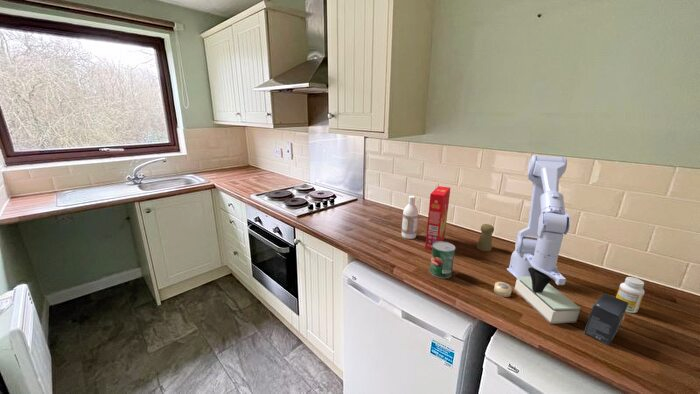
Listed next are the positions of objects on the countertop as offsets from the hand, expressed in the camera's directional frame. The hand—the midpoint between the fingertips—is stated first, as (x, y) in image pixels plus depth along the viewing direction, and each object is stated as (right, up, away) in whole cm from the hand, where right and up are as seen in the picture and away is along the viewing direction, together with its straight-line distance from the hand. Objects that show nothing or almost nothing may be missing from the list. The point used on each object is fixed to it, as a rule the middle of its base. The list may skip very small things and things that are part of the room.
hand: (537, 291), depth 87 cm
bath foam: (-29, +10, +49) cm, 58 cm away
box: (+12, -8, -9) cm, 17 cm away
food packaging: (-19, +8, +42) cm, 47 cm away
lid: (+3, 0, 0) cm, 3 cm away
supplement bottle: (+28, -5, +1) cm, 29 cm away
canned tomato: (-24, +1, +19) cm, 30 cm away
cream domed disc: (-7, -3, +8) cm, 10 cm away
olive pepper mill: (+2, +6, +38) cm, 39 cm away
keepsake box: (+3, -5, +2) cm, 6 cm away
